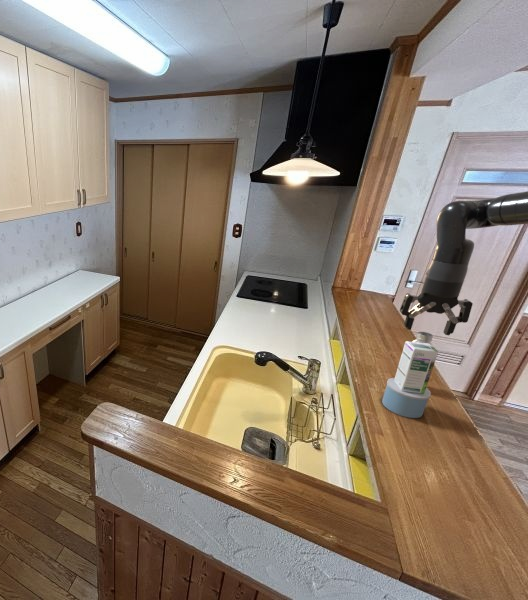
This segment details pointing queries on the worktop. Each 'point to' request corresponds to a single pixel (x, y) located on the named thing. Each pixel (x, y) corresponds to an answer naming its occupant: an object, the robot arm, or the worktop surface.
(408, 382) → the syrup box
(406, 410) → the yogurt tub
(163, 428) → the worktop surface
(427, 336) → the silver metal bottle
